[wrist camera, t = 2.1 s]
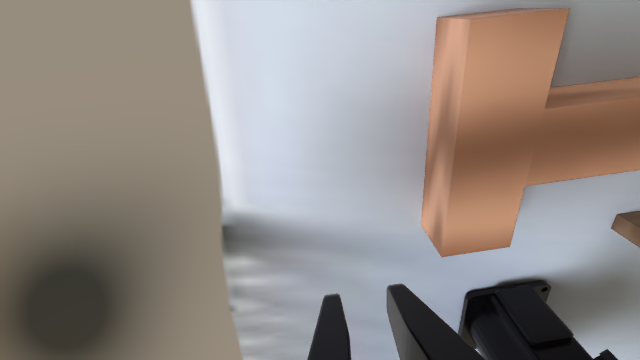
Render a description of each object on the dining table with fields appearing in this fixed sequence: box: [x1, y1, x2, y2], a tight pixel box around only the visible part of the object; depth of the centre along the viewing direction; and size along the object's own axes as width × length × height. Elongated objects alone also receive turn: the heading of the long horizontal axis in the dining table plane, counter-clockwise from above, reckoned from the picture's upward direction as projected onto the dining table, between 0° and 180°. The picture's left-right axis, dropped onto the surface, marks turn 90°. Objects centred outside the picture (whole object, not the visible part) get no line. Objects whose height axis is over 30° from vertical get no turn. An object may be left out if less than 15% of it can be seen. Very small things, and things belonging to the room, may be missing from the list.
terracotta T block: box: [421, 9, 640, 257], centre depth 17 cm, size 12×12×3 cm
